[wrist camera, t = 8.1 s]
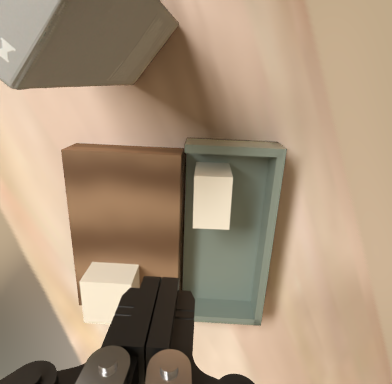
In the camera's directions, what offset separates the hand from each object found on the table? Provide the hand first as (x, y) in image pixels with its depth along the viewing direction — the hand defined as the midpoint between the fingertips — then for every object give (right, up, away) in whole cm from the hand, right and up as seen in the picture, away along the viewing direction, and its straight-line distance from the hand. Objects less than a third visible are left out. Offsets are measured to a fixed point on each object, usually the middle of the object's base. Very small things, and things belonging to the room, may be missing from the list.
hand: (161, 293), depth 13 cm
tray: (+4, +1, +17) cm, 18 cm away
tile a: (+1, +4, +13) cm, 14 cm away
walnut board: (-5, +1, +17) cm, 18 cm away
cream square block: (-6, -5, +16) cm, 18 cm away
